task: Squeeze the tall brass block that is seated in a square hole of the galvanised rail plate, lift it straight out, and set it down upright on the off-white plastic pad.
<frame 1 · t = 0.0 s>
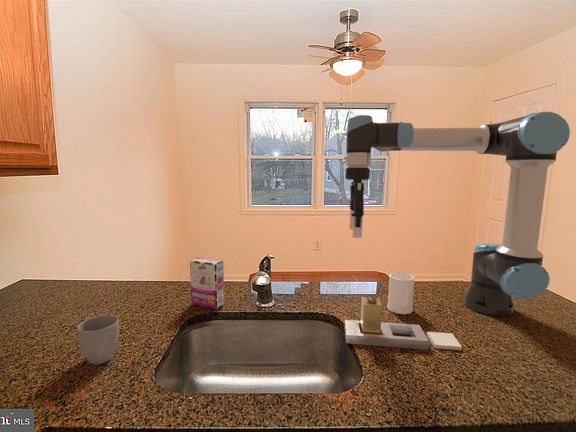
hand: (355, 233, 100), 28 cm above the worktop, fingers open, 13 cm apart
candy bar box: (207, 305, 110), on the worktop
pad: (443, 342, 87), on the worktop
brass block: (369, 336, 90), resting in rail plate
rail plate: (383, 337, 89), on the worktop
mug 2: (104, 355, 80), on the worktop
mug: (400, 311, 107), on the worktop
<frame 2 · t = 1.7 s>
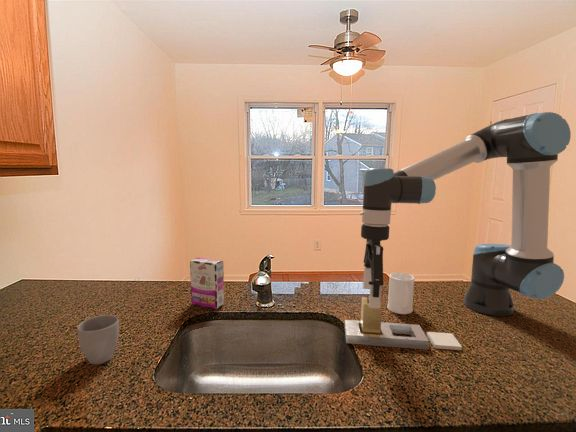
hand: (370, 297, 88), 12 cm above the worktop, fingers open, 13 cm apart
nothing on the worktop moved.
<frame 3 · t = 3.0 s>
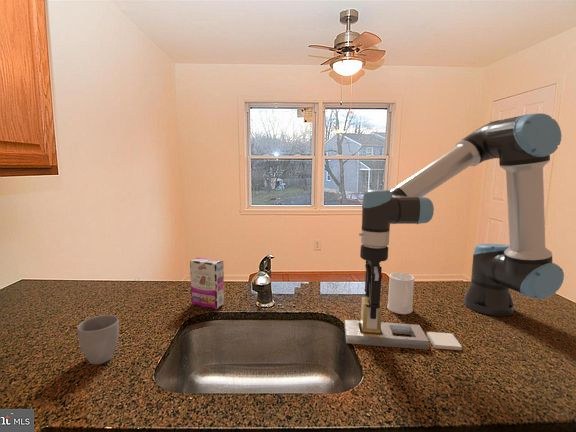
hand: (370, 322, 89), 4 cm above the worktop, fingers closed on brass block, 5 cm apart
brass block: (369, 336, 90), resting in rail plate, touching gripper
everything else where it was.
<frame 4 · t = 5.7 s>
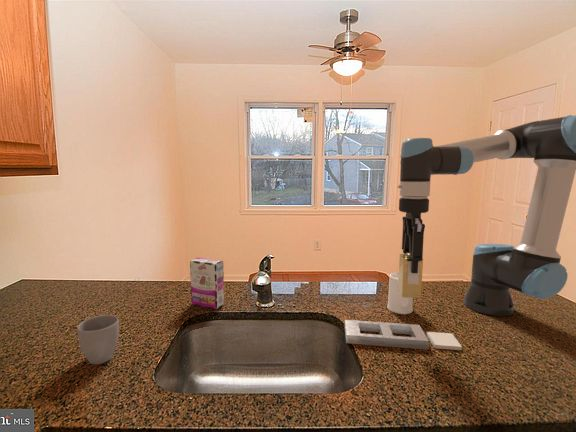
hand: (410, 279, 86), 18 cm above the worktop, fingers closed on brass block, 5 cm apart
brass block: (409, 294, 87), point 14 cm above the worktop, touching gripper
everything else where it was.
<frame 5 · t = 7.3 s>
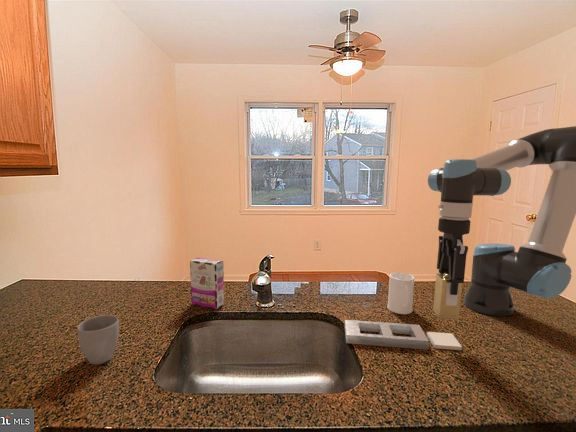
hand: (446, 300, 85), 13 cm above the worktop, fingers closed on brass block, 5 cm apart
brass block: (445, 314, 86), point 8 cm above the worktop, touching gripper
everything else where it was.
when the fingers open (7 cm above the worktop, at t = 8.4 s): brass block drops 1 cm, resting on pad.
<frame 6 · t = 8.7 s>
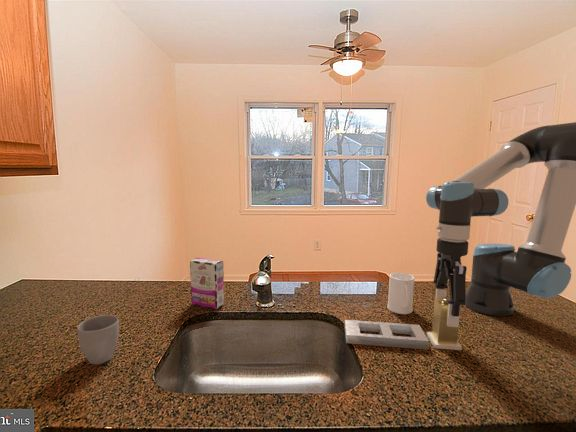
hand: (445, 317, 86), 7 cm above the worktop, fingers open, 9 cm apart
brass block: (443, 339, 87), point 1 cm above the worktop, touching pad
everything else where it was.
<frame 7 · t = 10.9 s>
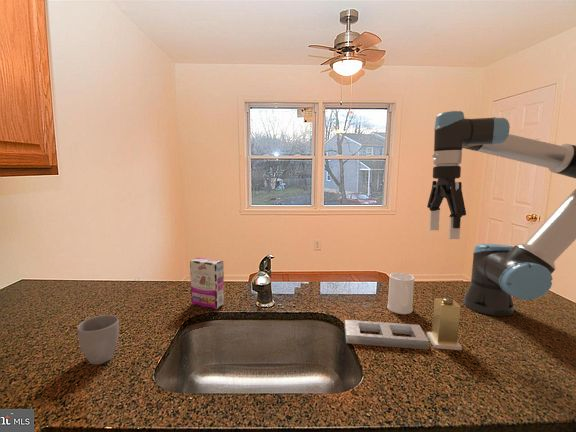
hand: (443, 234, 96), 29 cm above the worktop, fingers open, 13 cm apart
nothing on the worktop moved.
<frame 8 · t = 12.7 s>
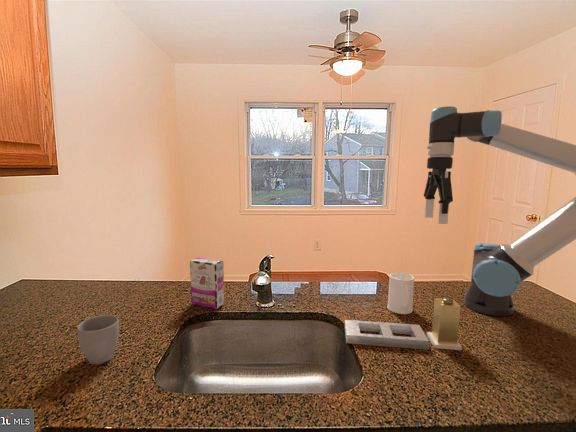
hand: (435, 220, 104), 32 cm above the worktop, fingers open, 13 cm apart
nothing on the worktop moved.
at the end: brass block inside the target area on the pad (0.0 cm from its centre), point 1.0 cm above the pad's base; brass block tilted 0°; the gripper is holding nothing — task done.
